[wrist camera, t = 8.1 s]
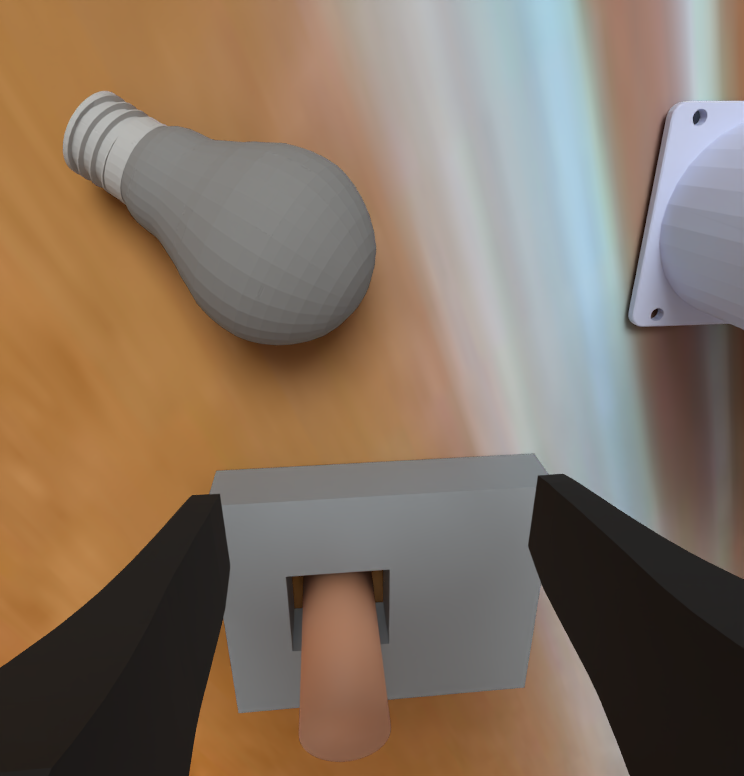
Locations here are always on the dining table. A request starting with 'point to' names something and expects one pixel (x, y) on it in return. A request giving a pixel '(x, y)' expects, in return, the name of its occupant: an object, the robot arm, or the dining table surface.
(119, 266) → the dining table surface
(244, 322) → the light bulb
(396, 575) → the socket board
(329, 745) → the peg
